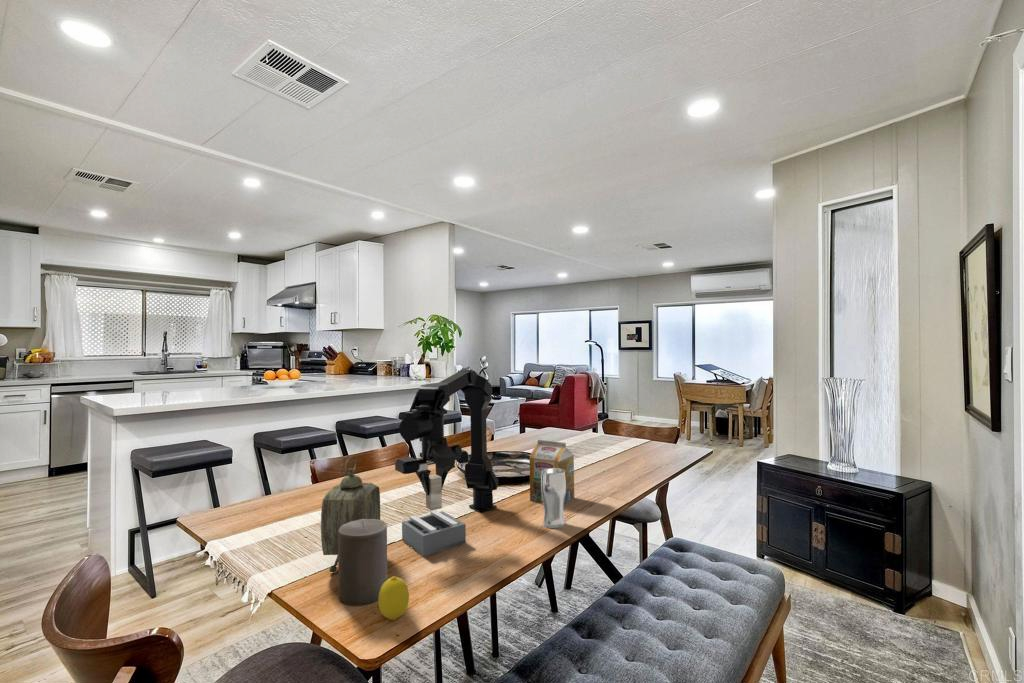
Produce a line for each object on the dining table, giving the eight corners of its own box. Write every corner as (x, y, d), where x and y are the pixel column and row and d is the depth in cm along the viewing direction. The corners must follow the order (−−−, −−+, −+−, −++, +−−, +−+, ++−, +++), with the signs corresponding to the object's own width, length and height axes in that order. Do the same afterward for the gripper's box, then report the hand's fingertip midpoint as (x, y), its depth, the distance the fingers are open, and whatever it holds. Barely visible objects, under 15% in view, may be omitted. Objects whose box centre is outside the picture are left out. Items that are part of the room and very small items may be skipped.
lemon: (381, 612, 90) (381, 570, 90) (411, 610, 90) (410, 568, 90) (375, 629, 84) (375, 585, 84) (407, 627, 85) (406, 583, 85)
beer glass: (565, 529, 128) (564, 474, 128) (540, 528, 129) (539, 473, 129) (567, 520, 135) (566, 468, 135) (543, 518, 136) (542, 467, 136)
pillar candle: (341, 611, 90) (341, 533, 90) (335, 587, 99) (335, 516, 99) (392, 598, 95) (392, 524, 95) (382, 577, 103) (382, 509, 103)
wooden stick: (426, 507, 121) (425, 476, 121) (436, 504, 123) (435, 474, 123) (431, 510, 119) (431, 479, 119) (441, 507, 121) (441, 476, 121)
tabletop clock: (346, 549, 118) (345, 449, 118) (382, 548, 118) (380, 449, 118) (321, 577, 103) (320, 464, 104) (362, 577, 103) (360, 464, 103)
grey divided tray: (402, 540, 122) (401, 518, 122) (442, 529, 130) (442, 508, 130) (423, 557, 113) (422, 532, 113) (465, 543, 120) (465, 520, 120)
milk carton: (530, 501, 152) (529, 442, 152) (546, 492, 160) (545, 436, 160) (558, 507, 146) (557, 446, 146) (574, 497, 154) (573, 439, 154)
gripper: (413, 443, 109) (414, 510, 109) (480, 433, 121) (480, 493, 120) (393, 436, 118) (394, 498, 118) (457, 427, 129) (458, 484, 129)
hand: (433, 493), depth 121 cm, fingers closed on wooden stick, 3 cm apart
